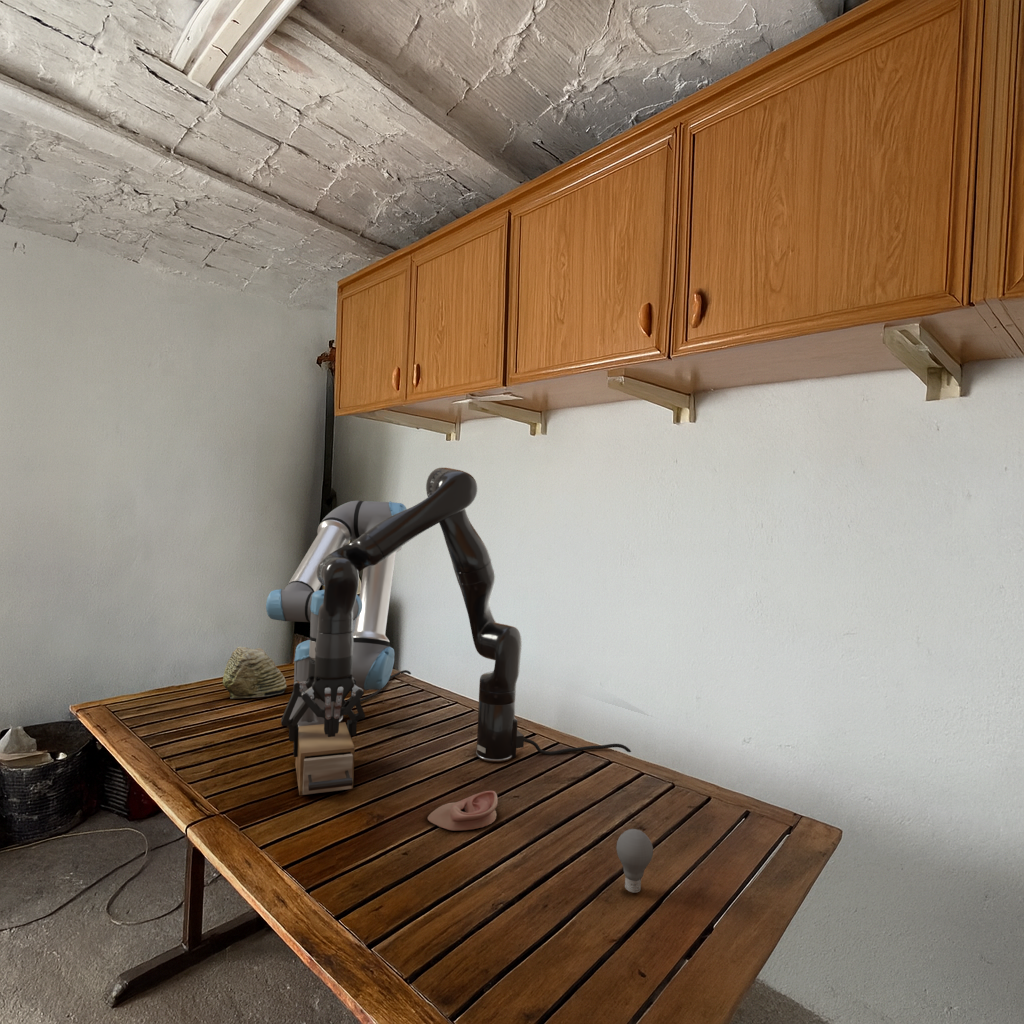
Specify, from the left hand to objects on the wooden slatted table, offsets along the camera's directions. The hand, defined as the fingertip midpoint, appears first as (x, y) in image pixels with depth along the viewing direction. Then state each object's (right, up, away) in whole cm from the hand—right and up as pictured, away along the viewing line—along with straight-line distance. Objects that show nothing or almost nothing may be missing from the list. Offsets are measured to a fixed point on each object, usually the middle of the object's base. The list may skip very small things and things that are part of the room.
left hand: (322, 751), depth 146 cm
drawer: (+3, -4, -8) cm, 9 cm away
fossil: (-37, -2, +52) cm, 63 cm away
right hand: (+6, +9, -15) cm, 19 cm away
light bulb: (+64, -8, -41) cm, 76 cm away
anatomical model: (+34, -6, -19) cm, 39 cm away
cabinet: (+1, -4, -3) cm, 5 cm away
